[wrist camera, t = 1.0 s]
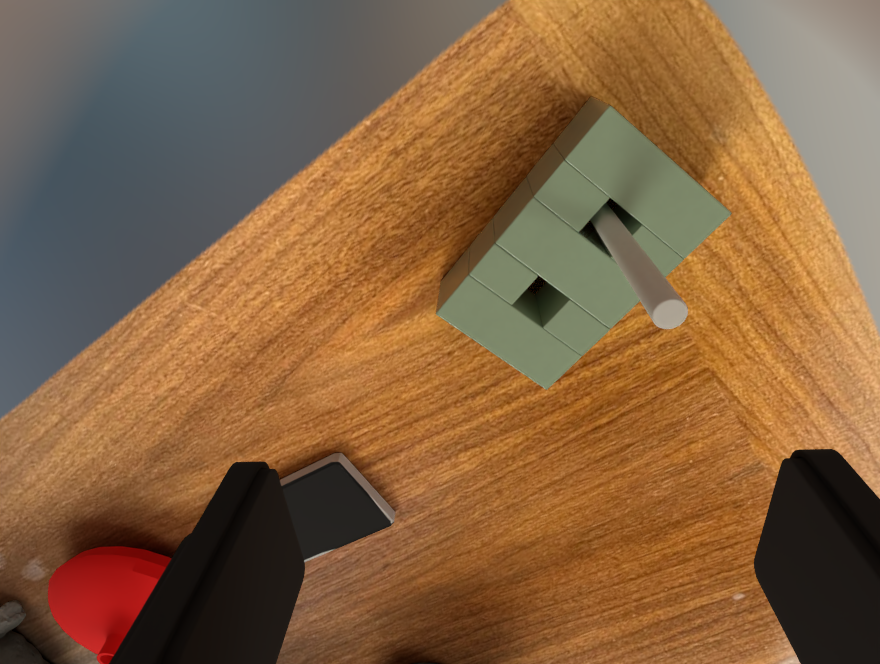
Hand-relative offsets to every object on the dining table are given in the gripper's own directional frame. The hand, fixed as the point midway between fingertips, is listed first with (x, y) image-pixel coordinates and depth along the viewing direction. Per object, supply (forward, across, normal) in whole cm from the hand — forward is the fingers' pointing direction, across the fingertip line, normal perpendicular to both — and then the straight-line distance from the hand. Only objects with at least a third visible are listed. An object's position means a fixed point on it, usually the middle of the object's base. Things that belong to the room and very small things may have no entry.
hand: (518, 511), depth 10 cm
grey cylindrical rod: (+24, -6, +1) cm, 24 cm away
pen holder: (+24, -4, +3) cm, 24 cm away
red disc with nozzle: (+24, +33, +34) cm, 53 cm away
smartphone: (+24, +17, +25) cm, 39 cm away
